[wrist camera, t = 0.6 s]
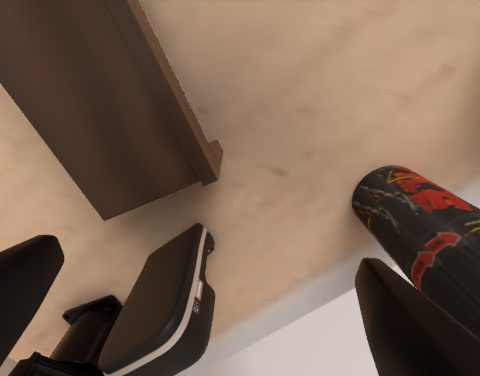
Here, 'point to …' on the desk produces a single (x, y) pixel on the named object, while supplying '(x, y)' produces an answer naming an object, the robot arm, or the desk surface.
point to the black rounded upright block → (164, 312)
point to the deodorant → (426, 237)
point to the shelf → (104, 100)
